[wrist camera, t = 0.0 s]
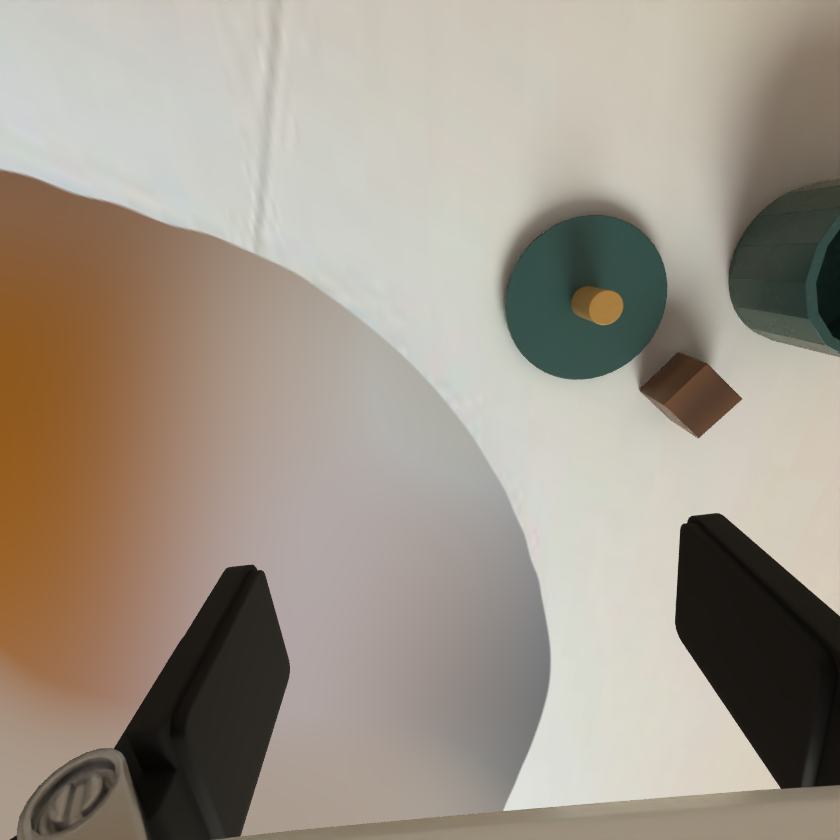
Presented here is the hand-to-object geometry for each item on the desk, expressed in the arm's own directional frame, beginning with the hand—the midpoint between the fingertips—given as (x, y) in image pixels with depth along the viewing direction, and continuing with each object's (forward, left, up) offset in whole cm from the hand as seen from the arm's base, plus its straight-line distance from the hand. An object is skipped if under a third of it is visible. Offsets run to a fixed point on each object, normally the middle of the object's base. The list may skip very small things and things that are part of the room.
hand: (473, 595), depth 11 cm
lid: (+7, +12, -37) cm, 39 cm away
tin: (+18, +29, -37) cm, 51 cm away
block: (+20, +15, -37) cm, 45 cm away
